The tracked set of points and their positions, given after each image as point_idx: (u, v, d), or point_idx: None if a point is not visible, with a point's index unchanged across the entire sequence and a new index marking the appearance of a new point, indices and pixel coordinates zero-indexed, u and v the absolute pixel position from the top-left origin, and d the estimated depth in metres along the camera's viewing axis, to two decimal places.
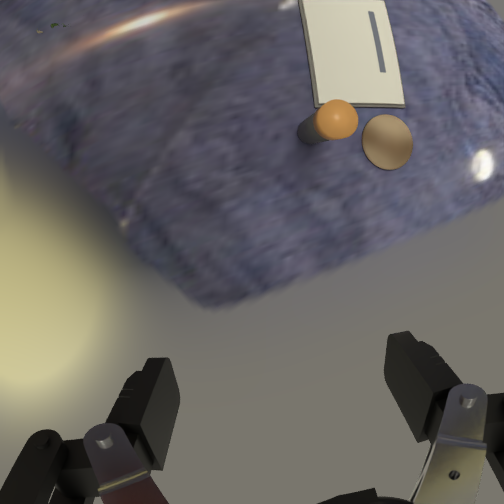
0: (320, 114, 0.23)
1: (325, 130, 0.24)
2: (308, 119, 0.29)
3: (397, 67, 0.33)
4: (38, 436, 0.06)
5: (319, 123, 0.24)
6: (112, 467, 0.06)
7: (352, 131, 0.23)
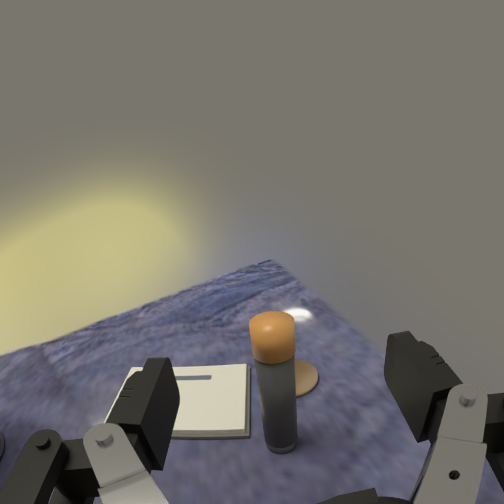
0: (266, 332, 0.21)
1: (286, 328, 0.22)
2: (268, 398, 0.23)
3: (206, 366, 0.39)
4: (37, 436, 0.06)
5: (277, 335, 0.21)
6: (112, 467, 0.06)
7: (285, 313, 0.24)
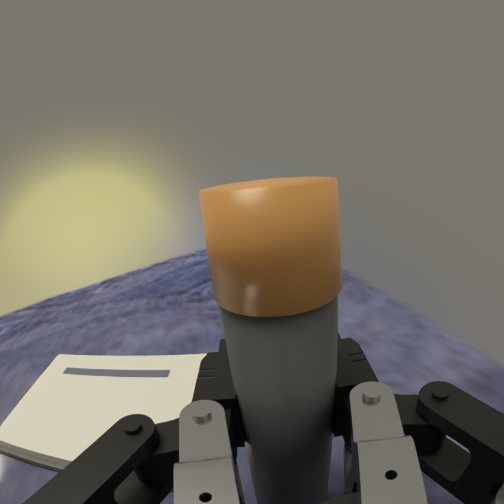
0: (251, 191, 0.06)
1: (317, 182, 0.06)
2: (262, 426, 0.08)
3: (164, 356, 0.23)
4: (129, 420, 0.07)
5: (289, 201, 0.06)
6: (222, 440, 0.07)
7: (306, 177, 0.08)
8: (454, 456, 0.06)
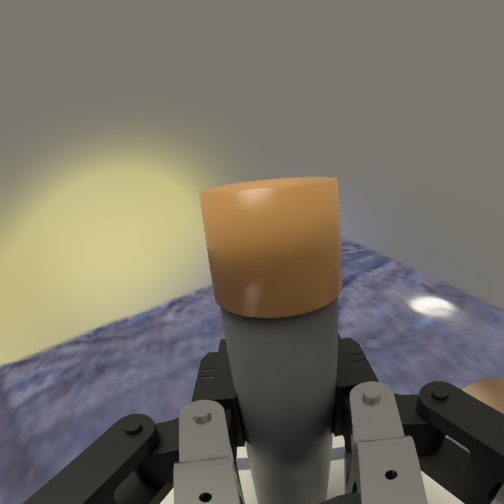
0: (251, 191, 0.06)
1: (317, 183, 0.06)
2: (263, 427, 0.08)
3: None
4: (129, 420, 0.07)
5: (290, 202, 0.06)
6: (222, 440, 0.07)
7: (306, 177, 0.08)
8: (454, 456, 0.06)
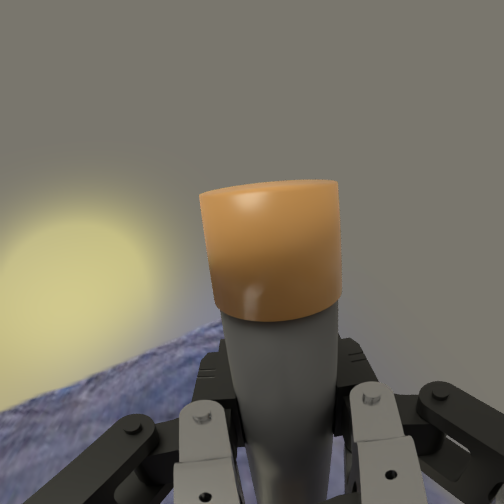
0: (251, 195, 0.06)
1: (318, 187, 0.06)
2: (263, 429, 0.08)
3: None
4: (129, 420, 0.07)
5: (290, 206, 0.06)
6: (221, 440, 0.07)
7: (306, 180, 0.08)
8: (454, 456, 0.06)
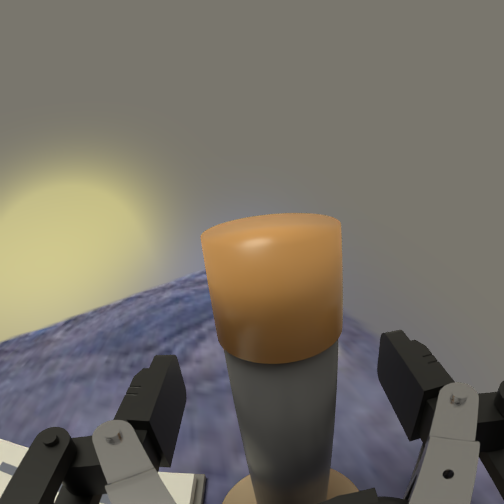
0: (254, 247, 0.06)
1: (321, 236, 0.06)
2: (264, 453, 0.08)
3: None
4: (46, 434, 0.06)
5: (293, 258, 0.06)
6: (122, 463, 0.06)
7: (309, 215, 0.08)
8: None
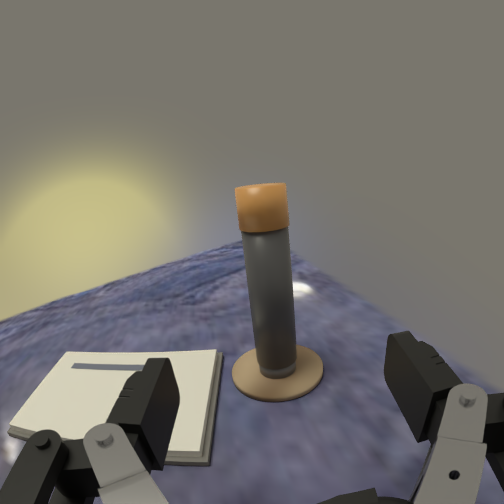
0: (254, 188, 0.19)
1: (276, 185, 0.19)
2: (258, 287, 0.21)
3: (160, 353, 0.26)
4: (37, 436, 0.06)
5: (266, 192, 0.19)
6: (112, 467, 0.06)
7: (276, 183, 0.21)
8: None
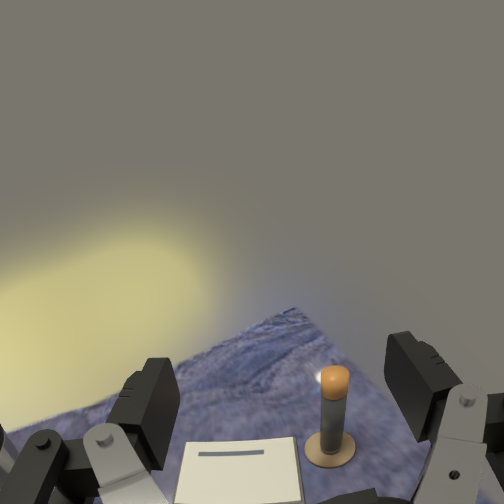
0: (334, 382, 0.32)
1: (345, 378, 0.32)
2: (329, 419, 0.34)
3: (257, 441, 0.40)
4: (37, 436, 0.06)
5: (340, 383, 0.32)
6: (112, 467, 0.06)
7: (342, 367, 0.34)
8: None
